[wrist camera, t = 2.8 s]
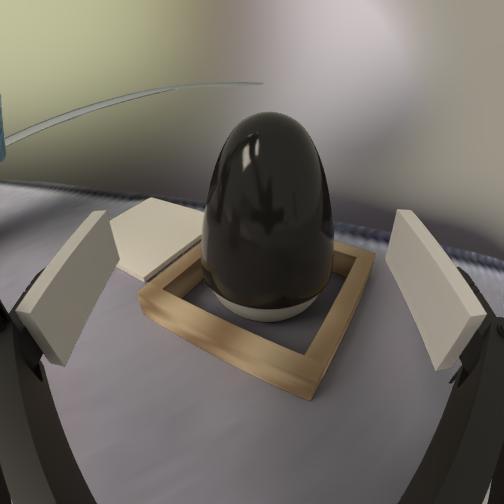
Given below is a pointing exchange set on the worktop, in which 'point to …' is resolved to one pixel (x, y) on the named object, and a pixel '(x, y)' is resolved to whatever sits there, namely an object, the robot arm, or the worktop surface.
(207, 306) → the worktop surface
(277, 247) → the black egg-shaped piece
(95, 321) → the worktop surface
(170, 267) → the wooden picture frame
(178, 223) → the tile
